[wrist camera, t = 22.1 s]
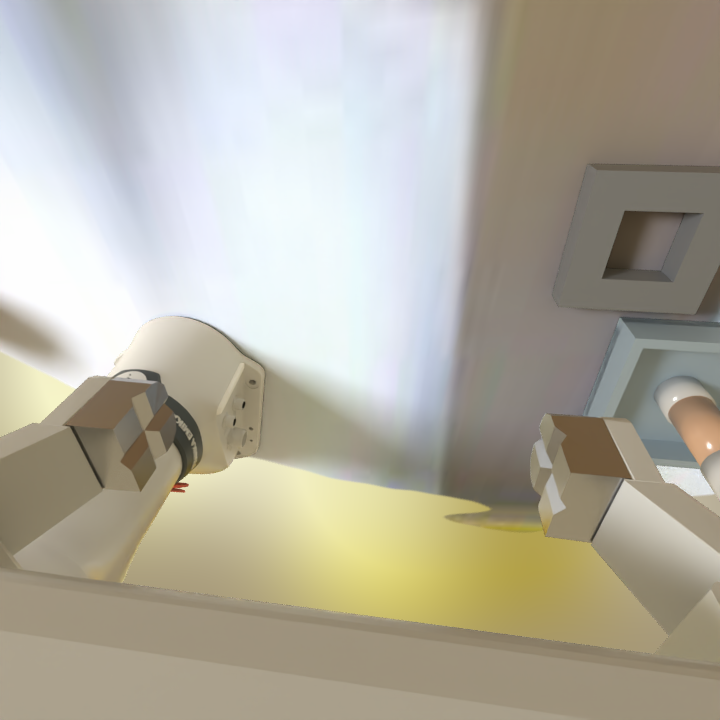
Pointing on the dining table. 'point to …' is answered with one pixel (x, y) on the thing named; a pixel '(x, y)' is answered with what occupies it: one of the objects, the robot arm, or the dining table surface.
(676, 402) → the cylinder
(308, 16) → the dining table surface
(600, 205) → the fuse holder
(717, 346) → the parts tray
